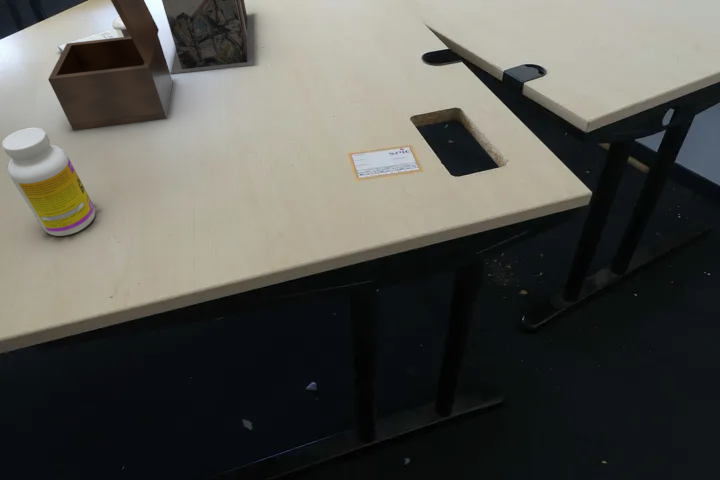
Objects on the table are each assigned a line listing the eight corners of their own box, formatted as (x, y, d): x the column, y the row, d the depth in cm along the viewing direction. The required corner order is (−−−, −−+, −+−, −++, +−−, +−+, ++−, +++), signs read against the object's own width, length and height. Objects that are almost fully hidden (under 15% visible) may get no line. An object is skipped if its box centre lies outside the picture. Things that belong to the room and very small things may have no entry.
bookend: (253, 14, 119) (239, -67, 107) (254, 64, 101) (237, -27, 89) (181, 21, 117) (159, -60, 106) (170, 73, 99) (141, -18, 88)
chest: (72, 130, 87) (47, 79, 80) (88, 91, 96) (66, 43, 90) (166, 118, 88) (149, 67, 82) (172, 81, 97) (157, 33, 91)
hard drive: (60, 52, 108) (119, 34, 114) (73, 65, 104) (134, 45, 109) (57, 44, 107) (116, 26, 113) (70, 57, 103) (131, 38, 108)
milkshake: (146, 72, 100) (128, 18, 93) (122, 68, 102) (103, 16, 95) (160, 61, 103) (143, 9, 96) (137, 58, 105) (119, 6, 98)
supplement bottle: (106, 218, 70) (64, 135, 61) (58, 245, 67) (6, 162, 58) (82, 198, 74) (39, 116, 65) (35, 223, 70) (-18, 140, 61)
